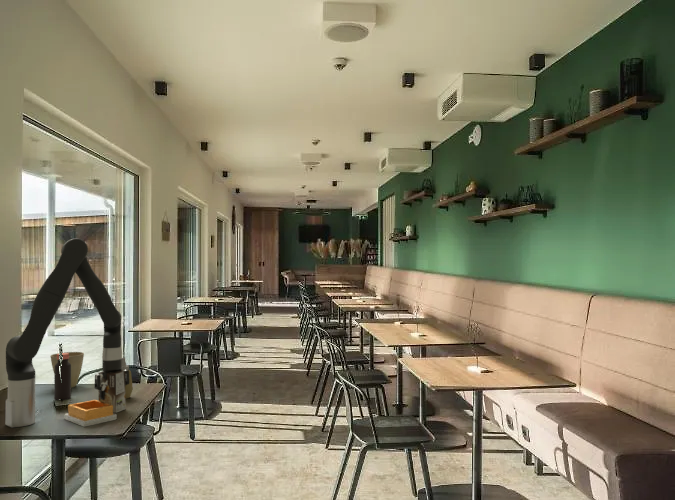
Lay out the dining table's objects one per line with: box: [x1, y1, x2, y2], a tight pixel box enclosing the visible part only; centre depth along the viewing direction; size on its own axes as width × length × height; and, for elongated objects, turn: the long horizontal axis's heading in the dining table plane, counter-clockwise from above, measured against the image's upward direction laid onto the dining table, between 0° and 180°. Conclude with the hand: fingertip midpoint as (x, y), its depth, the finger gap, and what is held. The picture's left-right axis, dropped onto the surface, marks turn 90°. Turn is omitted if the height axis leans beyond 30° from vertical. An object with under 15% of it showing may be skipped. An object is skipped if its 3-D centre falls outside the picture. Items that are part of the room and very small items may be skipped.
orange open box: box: [63, 399, 118, 428], centre depth 225 cm, size 13×16×6 cm
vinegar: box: [53, 352, 72, 401], centre depth 258 cm, size 7×7×20 cm
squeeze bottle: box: [121, 357, 134, 400], centre depth 259 cm, size 8×8×18 cm
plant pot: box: [50, 351, 85, 389], centre depth 282 cm, size 15×15×16 cm
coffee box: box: [97, 370, 126, 414], centre depth 238 cm, size 9×6×16 cm
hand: (112, 397), depth 238 cm, fingers closed on coffee box, 8 cm apart
